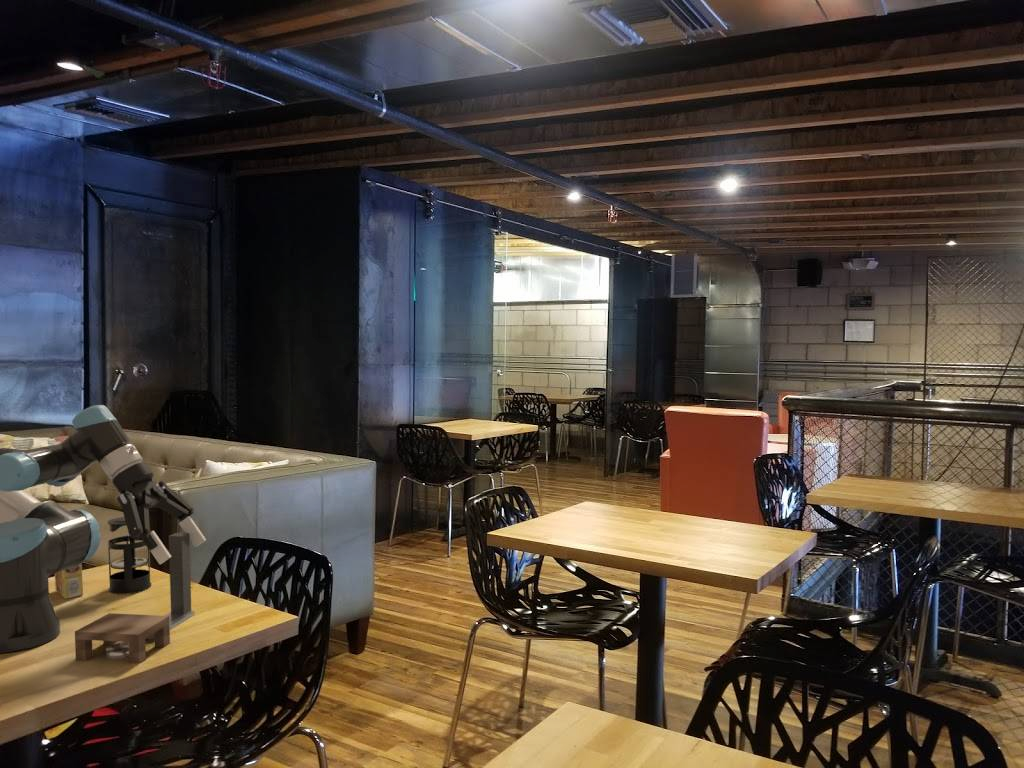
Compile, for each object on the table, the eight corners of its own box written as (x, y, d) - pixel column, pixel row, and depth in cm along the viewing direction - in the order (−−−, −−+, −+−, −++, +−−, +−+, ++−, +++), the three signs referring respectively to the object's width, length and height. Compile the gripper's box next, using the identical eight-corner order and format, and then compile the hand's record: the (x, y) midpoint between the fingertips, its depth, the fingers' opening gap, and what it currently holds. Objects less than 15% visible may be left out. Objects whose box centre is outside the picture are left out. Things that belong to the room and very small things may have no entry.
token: (100, 659, 149) (100, 651, 149) (117, 649, 154) (117, 641, 154) (124, 660, 148) (124, 653, 148) (140, 650, 153) (140, 643, 153)
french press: (150, 592, 188) (147, 497, 187) (106, 597, 185) (103, 500, 184) (152, 578, 199) (150, 488, 198) (111, 582, 196) (108, 491, 194)
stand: (75, 660, 148) (74, 631, 148) (110, 640, 158) (109, 613, 158) (139, 663, 146) (138, 634, 146) (169, 643, 156) (169, 616, 156)
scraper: (130, 638, 159) (127, 550, 158) (172, 612, 174) (170, 532, 173) (158, 639, 158) (155, 551, 157) (197, 613, 173) (195, 533, 172)
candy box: (84, 595, 186) (81, 531, 185) (64, 599, 183) (61, 534, 182) (73, 587, 192) (70, 525, 192) (53, 591, 189) (51, 528, 189)
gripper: (102, 469, 155) (163, 558, 154) (173, 452, 180) (226, 528, 179) (75, 491, 156) (135, 578, 155) (149, 470, 181) (201, 546, 180)
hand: (184, 552), depth 167 cm, fingers open, 13 cm apart
